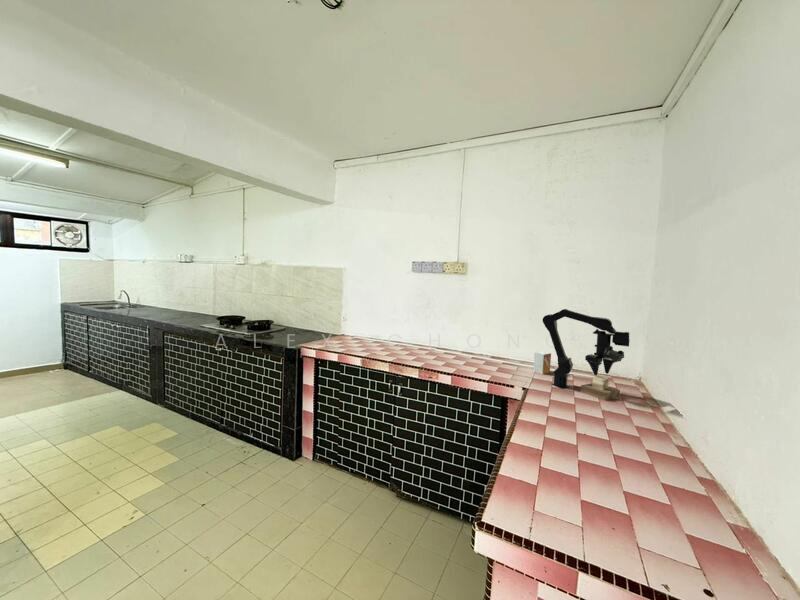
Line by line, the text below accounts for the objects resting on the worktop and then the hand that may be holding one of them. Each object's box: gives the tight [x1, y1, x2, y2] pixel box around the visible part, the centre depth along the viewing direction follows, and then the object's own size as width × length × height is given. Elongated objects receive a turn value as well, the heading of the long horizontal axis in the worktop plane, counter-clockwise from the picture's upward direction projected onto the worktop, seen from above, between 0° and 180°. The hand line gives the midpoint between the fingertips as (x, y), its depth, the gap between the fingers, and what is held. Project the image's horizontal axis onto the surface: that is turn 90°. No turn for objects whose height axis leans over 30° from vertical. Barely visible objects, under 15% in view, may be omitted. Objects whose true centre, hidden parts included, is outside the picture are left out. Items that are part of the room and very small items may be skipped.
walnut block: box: [579, 383, 621, 401], centre depth 153 cm, size 12×12×4 cm
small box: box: [532, 350, 552, 375], centre depth 186 cm, size 8×6×13 cm
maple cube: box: [591, 375, 610, 390], centre depth 153 cm, size 5×5×5 cm
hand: (601, 374), depth 152 cm, fingers open, 9 cm apart
